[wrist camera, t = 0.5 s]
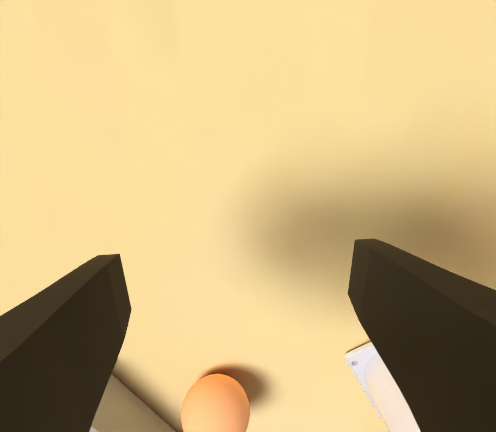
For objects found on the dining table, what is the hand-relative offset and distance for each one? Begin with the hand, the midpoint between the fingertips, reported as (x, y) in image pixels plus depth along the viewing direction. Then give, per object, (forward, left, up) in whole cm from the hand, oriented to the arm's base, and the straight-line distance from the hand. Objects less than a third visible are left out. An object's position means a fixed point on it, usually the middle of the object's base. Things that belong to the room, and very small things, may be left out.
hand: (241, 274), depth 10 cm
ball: (-14, +10, -10) cm, 19 cm away
